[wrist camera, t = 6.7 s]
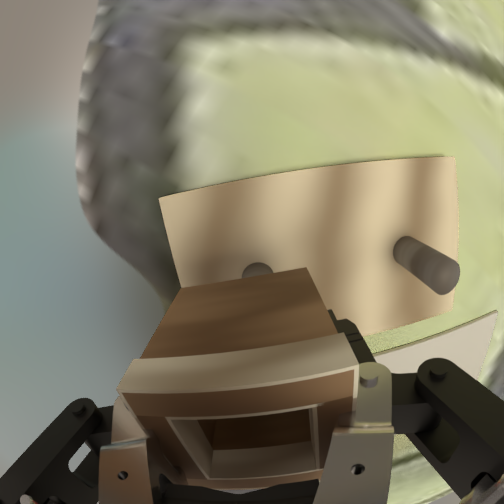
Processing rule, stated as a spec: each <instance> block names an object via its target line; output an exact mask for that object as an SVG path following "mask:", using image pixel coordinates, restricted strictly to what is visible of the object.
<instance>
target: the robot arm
mask: <svg viewBox="0 0 504 504" xmlns="http://www.w3.org/2000/svg"><path fill="white" fill-rule="evenodd" d="M327 311H328V313H329V315H330V317H331V319H332V321H333V323H334V326H335V328H336V330H337V332H338V334H339V333H343V332H344V334H345V336H346V338H347V340H348V342H349V344H350V346H351V348H352V350H353V352H354V355H355V357H356V359H357V361H358V363H359V379H358V394H357V406H356V410H354V411H350V412H346V413H342V414H340V415H339V420H338V424H337V426H335V428H334V431H333V435H332V439H331V443H330V447H329V451H328V455H327V459H326V462H325V466H324V470H323V473H322V476H321V480H320V483H319V480H318V479H313V480H307V481H300V482H293V483H285V484H278V485H275V486H271V487H268V488H264V489H260V490H257V491H253V492H249V493H245V494H232V493H228V492H223V491H219V490H214V489H210V488H207V487H203V486H191V485H189V484H188V482H187V479H186V475H185V472H184V471H183V470H182V468H181V467H180V466H171V465H170V464H169V462H168V461H167V460H166V459H165V457H164V455H163V453H162V450H161V447H160V440H159V438H158V437H157V435H156V434H155V432H154V431H153V430H152V429H141V427H140V426H139V424H138V423H137V421H136V420H135V418H134V417H133V415H132V414H131V412H130V411H129V409H128V408H127V406H126V405H125V403H124V401H123V400H122V398H121V397H120V396H118V398H117V399H116V400H115V403H114V405H113V406H108V407H102V408H97V406H96V405H95V404H94V402H93V401H92V400H91V399H88V398H80V399H77V400H75V401H73V402H72V403H70V404H69V405H68V406H67V407H66V408H65V409H64V411H62V413H61V414H60V415H59V416H58V417H57V418H56V419H55V420H54V421H53V422H52V423H51V424H50V425H49V426H48V427H47V428H46V429H45V430H44V431H43V432H42V434H41V435H40V436H39V437H38V438H37V439H36V440H35V441H34V442H33V443H32V444H31V445H30V446H29V447H28V449H27V450H26V451H25V452H24V453H23V454H22V455H21V456H20V457H19V458H18V460H16V462H15V463H14V464H13V465H12V466H11V467H10V468H9V469H8V470H7V472H6V473H5V474H4V475H3V476H2V477H1V478H0V504H97V502H98V501H99V504H387V499H388V492H389V485H390V477H391V468H392V457H393V443H394V434H405V435H406V436H407V437H408V438H409V439H410V441H411V442H412V443H413V444H414V445H415V446H416V448H417V449H418V450H419V451H420V452H421V453H422V455H423V456H424V457H425V458H426V459H427V460H428V462H429V463H430V464H431V465H432V466H433V467H434V469H435V470H436V471H437V472H438V473H439V474H440V476H441V477H442V478H443V479H444V480H445V481H446V482H447V484H448V485H449V486H450V487H451V488H452V489H453V491H454V492H455V493H456V494H457V495H458V496H459V498H460V499H461V502H460V503H459V504H504V401H503V400H501V399H500V398H499V397H498V396H496V395H495V394H494V393H492V392H491V391H490V390H489V389H487V388H486V387H485V386H483V385H482V384H481V383H480V382H478V381H477V380H476V379H474V378H473V377H472V376H470V375H469V374H468V373H466V372H465V371H464V370H462V369H461V368H460V367H458V366H457V365H456V364H455V363H453V362H452V361H450V360H448V359H445V358H431V359H428V360H426V361H424V362H423V363H422V364H421V365H420V366H419V368H418V370H417V372H416V373H402V374H397V373H391V372H390V370H389V369H388V368H387V367H386V366H384V365H383V364H380V363H377V362H376V360H375V358H374V357H373V355H372V353H371V351H370V349H369V348H368V346H367V344H366V342H365V340H363V337H362V335H361V333H360V332H359V330H358V328H357V326H356V325H355V324H354V323H353V322H351V321H350V320H348V319H347V318H346V319H341V320H337V319H336V317H335V315H334V313H333V311H332V309H329V310H327ZM84 442H85V443H86V444H87V446H88V447H89V448H90V449H91V451H90V452H89V453H88V455H87V456H86V457H85V459H84V460H83V461H82V462H81V464H80V465H79V466H78V467H77V469H76V470H75V471H74V472H71V471H70V470H69V467H68V463H69V460H70V459H71V457H72V456H73V455H74V454H75V453H76V451H77V450H78V449H79V448H80V447H81V445H82V444H83V443H84Z"/></svg>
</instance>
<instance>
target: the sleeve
mask: <svg viewBox="0 0 504 504" xmlns="http://www.w3.org/2000/svg"><path fill="white" fill-rule="evenodd" d="M358 379H359V363H358V361H357V359H356V357H355V355H354V352H353V350H352V348H351V346H350V344H349V342H348V340H347V338H346V336H345V334H344V332H343V333H339V334H338V332H337V330H336V328H335V326H334V323H333V321H332V319H331V317H330V315H329V313H328V311H327V309H326V306H325V304H324V302H323V300H322V298H321V296H320V294H319V292H318V290H317V288H316V286H315V284H314V282H313V280H312V277H311V275H310V273H309V271H308V269H307V267H304V268H298V269H293V270H287V271H282V272H276V273H270V274H264V275H259V276H253V277H247V278H241V279H235V280H229V281H223V282H216V283H210V284H204V285H197V286H191V287H184V288H181V289H180V290H179V292H178V294H177V295H176V297H175V299H174V300H173V302H172V304H171V305H170V307H169V309H168V310H167V312H166V314H165V315H164V317H163V319H162V321H161V322H160V324H159V326H158V328H157V329H156V331H155V333H154V334H153V336H152V338H151V340H150V341H149V343H148V345H147V347H146V349H145V350H144V352H143V354H142V356H141V357H140V359H133V360H132V362H131V364H130V366H129V367H128V369H127V371H126V373H125V374H124V376H123V378H122V380H121V381H120V383H119V385H118V387H117V388H116V390H117V391H118V393H119V395H120V397H121V398H122V400H123V401H124V403H125V405H126V406H127V408H128V409H129V411H130V412H131V414H132V415H133V417H134V418H135V420H136V421H137V423H138V424H139V426H140V427H141V429H152V430H153V431H154V432H155V434H156V435H157V437H158V438H159V440H160V447H161V450H162V453H163V455H164V457H165V459H166V460H167V461H168V462H169V464H170V465H171V466H180V467H181V468H182V470H183V471H184V472H185V475H186V479H187V482H188V484H189V485H191V486H203V487H207V488H210V489H214V490H245V489H263V488H268V487H271V486H275V485H278V484H285V483H293V482H300V481H307V480H313V479H318V480H319V481H320V480H321V476H322V473H323V470H324V466H325V462H326V459H327V455H328V451H329V447H330V443H331V439H332V435H333V431H334V428H335V426H337V424H338V420H339V415H340V414H342V413H346V412H350V411H354V410H356V406H357V394H358Z"/></svg>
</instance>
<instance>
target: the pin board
mask: <svg viewBox="0 0 504 504" xmlns="http://www.w3.org/2000/svg"><path fill="white" fill-rule="evenodd" d="M159 202H160V207H161V211H162V215H163V220H164V224H165V228H166V232H167V236H168V240H169V244H170V248H171V252H172V255H173V259H174V263H175V267H176V270H177V274H178V277H179V281H180V284H181V288H184V287H191V286H197V285H204V284H210V283H216V282H223V281H229V280H235V279H241V278H247V277H253V276H259V275H264V274H270V273H276V272H282V271H287V270H293V269H298V268H304V267H307V269H308V271H309V273H310V275H311V277H312V280H313V282H314V284H315V286H316V288H317V290H318V292H319V294H320V296H321V298H322V300H323V302H324V304H325V306H326V309H327V310H329V309H332V311H333V313H334V315H335V317H336V319H337V320H341V319H346V318H347V319H348V320H350V321H351V322H353V323H354V324H355V325H356V326H357V328H358V330H359V332H360V333H361V335H362V337H363V336H367V335H371V334H375V333H379V332H383V331H387V330H391V329H394V328H398V327H401V326H405V325H408V324H412V323H415V322H418V321H421V320H425V319H428V318H431V317H434V316H437V315H440V314H443V313H446V312H449V311H452V308H453V301H454V293H455V286H456V284H457V282H458V280H459V276H460V267H459V265H458V263H457V262H458V242H459V207H458V187H457V174H456V164H455V157H422V158H405V159H391V160H379V161H368V162H358V163H349V164H340V165H332V166H324V167H316V168H309V169H302V170H295V171H289V172H282V173H276V174H270V175H264V176H259V177H253V178H248V179H242V180H237V181H232V182H227V183H222V184H217V185H212V186H207V187H203V188H198V189H194V190H189V191H185V192H181V193H176V194H172V195H168V196H164V197H161V198H159Z"/></svg>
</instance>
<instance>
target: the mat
mask: <svg viewBox="0 0 504 504" xmlns="http://www.w3.org/2000/svg"><path fill="white" fill-rule="evenodd" d="M497 314H498V311H496V310H495V311H493V312H491V313H488V314H486V315H484V316H482V317H479V318H477V319H475V320H472V321H470V322H468V323H465V324H463V325H460V326H458V327H455V328H452V329H450V330H447V331H444V332H442V333H439V334H436V335H433V336H430V337H427V338H425V339H422V340H419V341H415V342H412V343H409V344H406V345H403V346H399V347H396V348H393V349H389V350H386V351H382V352H378V353H375V354H372V355H373V357H374V358H375V360H376V362H377V363H380V364H383V365H384V366H386V367H387V368H388V369H389V370H390V372H391V373H397V374H402V373H416V372H417V370H418V368H419V366H420V365H421V364H422V363H423V362H424V361H426V360H428V359H431V358H445V359H448V360H450V361H452V362H453V363H455V364H456V365H457V366H458V367H460V368H461V369H462V370H464V371H465V372H466V373H468V374H469V375H470V376H472V377H473V378H474V379H476V380H477V379H478V377H479V374H480V371H481V369H482V366H483V363H484V360H485V357H486V354H487V351H488V348H489V344H490V341H491V338H492V334H493V330H494V327H495V323H496V319H497ZM394 435H396V434H394Z"/></svg>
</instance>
